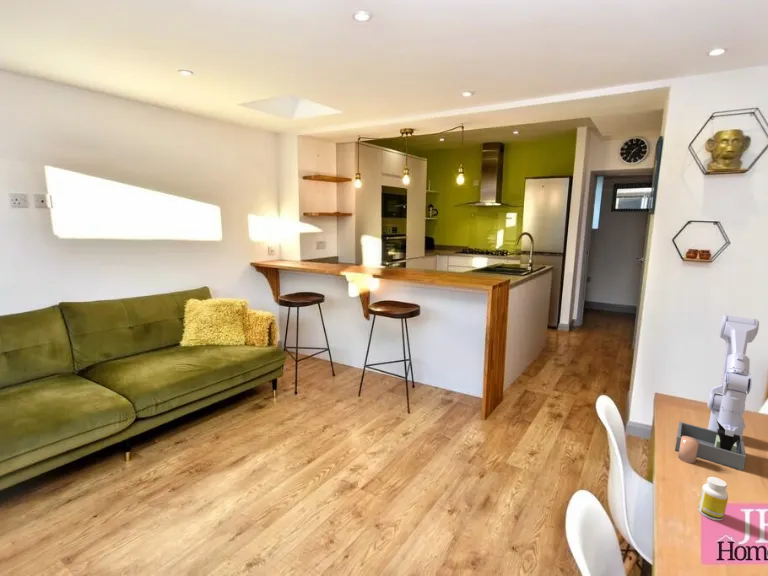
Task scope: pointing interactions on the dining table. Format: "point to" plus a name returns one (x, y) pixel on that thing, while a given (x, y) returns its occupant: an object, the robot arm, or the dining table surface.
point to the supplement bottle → (713, 499)
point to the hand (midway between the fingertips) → (724, 446)
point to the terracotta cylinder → (688, 449)
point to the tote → (712, 446)
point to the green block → (717, 444)
